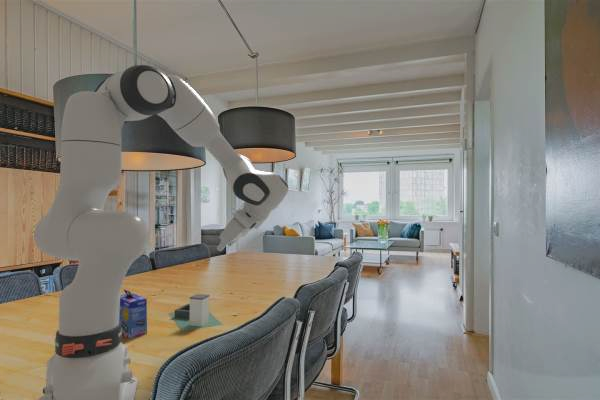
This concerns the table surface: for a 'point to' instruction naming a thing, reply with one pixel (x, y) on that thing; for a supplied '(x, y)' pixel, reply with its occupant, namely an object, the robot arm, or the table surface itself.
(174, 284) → the table surface
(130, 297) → the ink cartridge box
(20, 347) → the table surface
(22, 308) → the table surface
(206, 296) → the plug
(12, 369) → the table surface
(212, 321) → the board
